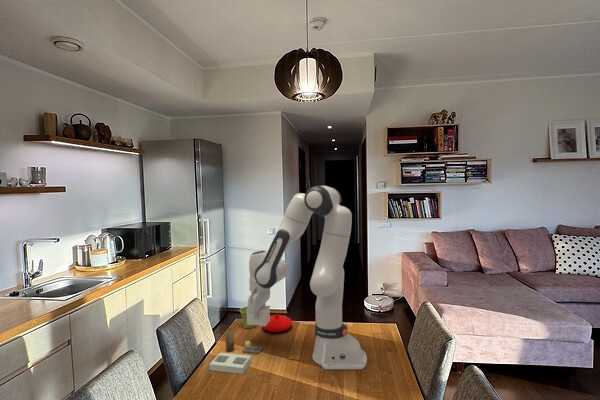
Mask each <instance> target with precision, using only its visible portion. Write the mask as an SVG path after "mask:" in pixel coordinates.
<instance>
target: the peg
mask: <svg viewBox="0 0 600 400" xmlns="http://www.w3.org/2000/svg"><path fill="white" fill-rule="evenodd" d="M234 332H235V331H234V330H232V329H229V330H226V331H225V351H226V352H227V353H231V352H234V351H235V333H234Z"/></svg>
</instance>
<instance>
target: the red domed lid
mask: <svg viewBox="0 0 600 400" xmlns="http://www.w3.org/2000/svg"><path fill="white" fill-rule="evenodd" d="M292 326H293V320H292V319H291V318H290V317H288V316H285V315H280V314H278V313H275V314H274V315H272V316H270V321H269V322H268V324H267V325H266V326H261V327H262V329H263V330H266V331H268V332H273V333H279V332H283V331H286V330H289V329H290V328H291V327H292Z"/></svg>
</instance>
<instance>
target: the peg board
mask: <svg viewBox="0 0 600 400" xmlns="http://www.w3.org/2000/svg"><path fill="white" fill-rule="evenodd" d="M251 363H252V355H248V354H237V353H230V352H227V353H226V352H219V353H218V354H217V355H216V356H215V357H214V359H212V360H211V362H210V363H209V364H208V365H209V371H212V372H213V371H215V372H219V373H220V372H222V373H230V374H238V375H244V373H245V372H246V371H247V369H248V368H249V366H250V364H251Z"/></svg>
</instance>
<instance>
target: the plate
mask: <svg viewBox="0 0 600 400" xmlns="http://www.w3.org/2000/svg"><path fill="white" fill-rule="evenodd" d="M251 343H252V342H251V340H245V341H244V348H243V349H242V350H241V351H242V353H243V354H252V355H255V354H256V355H259V354H260V353H261V351H262V349H263V347H262V346H253V345H252V344H251ZM251 345H252V346H251Z"/></svg>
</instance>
